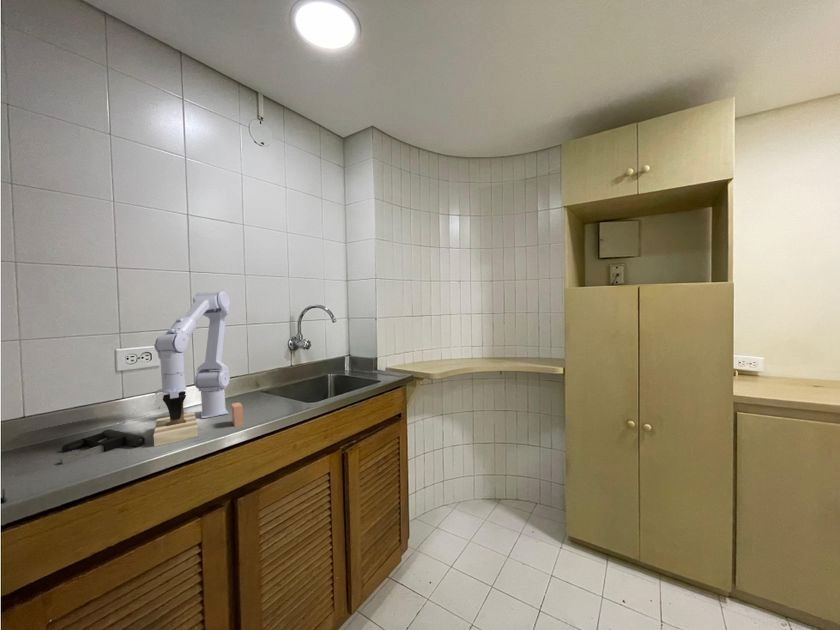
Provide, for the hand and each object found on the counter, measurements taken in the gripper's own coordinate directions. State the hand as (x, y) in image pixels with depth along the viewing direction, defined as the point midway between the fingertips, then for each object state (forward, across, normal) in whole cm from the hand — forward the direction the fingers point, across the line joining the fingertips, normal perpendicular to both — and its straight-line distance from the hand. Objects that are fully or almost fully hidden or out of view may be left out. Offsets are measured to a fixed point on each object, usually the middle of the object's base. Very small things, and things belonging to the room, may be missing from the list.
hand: (175, 418), depth 103 cm
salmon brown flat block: (+4, +4, +16) cm, 17 cm away
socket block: (+4, 0, 0) cm, 4 cm away
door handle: (+5, +1, -18) cm, 18 cm away
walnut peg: (+3, 0, 0) cm, 3 cm away
